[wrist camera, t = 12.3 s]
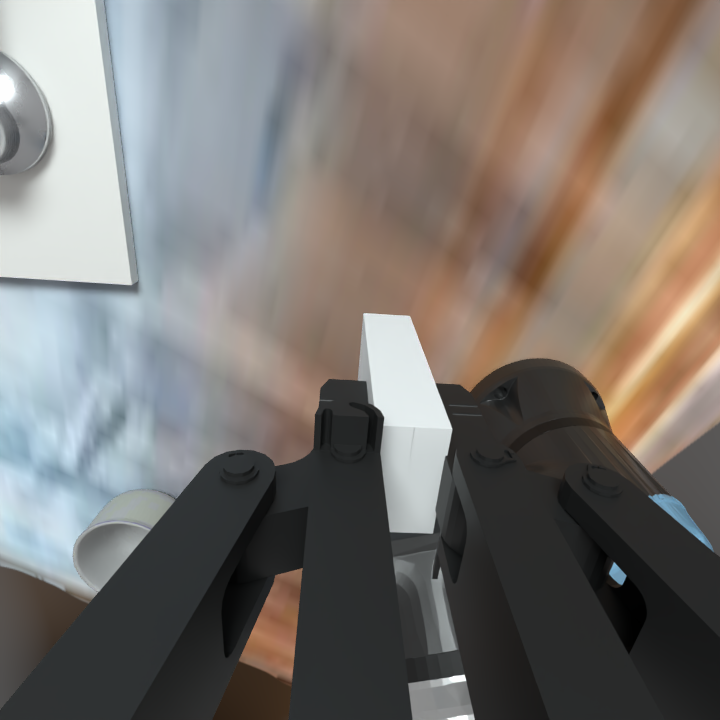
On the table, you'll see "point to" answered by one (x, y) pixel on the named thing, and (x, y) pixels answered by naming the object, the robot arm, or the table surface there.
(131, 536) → the teacup
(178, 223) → the table surface
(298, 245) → the table surface
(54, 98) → the base plate
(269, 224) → the table surface
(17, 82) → the grey metal lever
